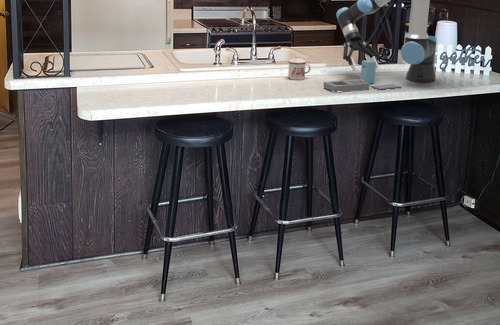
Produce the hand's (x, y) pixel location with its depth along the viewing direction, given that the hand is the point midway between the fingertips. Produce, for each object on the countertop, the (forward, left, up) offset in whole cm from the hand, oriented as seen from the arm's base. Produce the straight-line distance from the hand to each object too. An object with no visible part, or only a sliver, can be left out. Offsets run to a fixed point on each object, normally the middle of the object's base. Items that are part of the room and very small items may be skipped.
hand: (366, 69), depth 330 cm
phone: (-3, +14, -7) cm, 16 cm away
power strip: (+17, +9, -7) cm, 21 cm away
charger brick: (-1, +1, -7) cm, 7 cm away
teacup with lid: (+27, -20, -7) cm, 35 cm away
